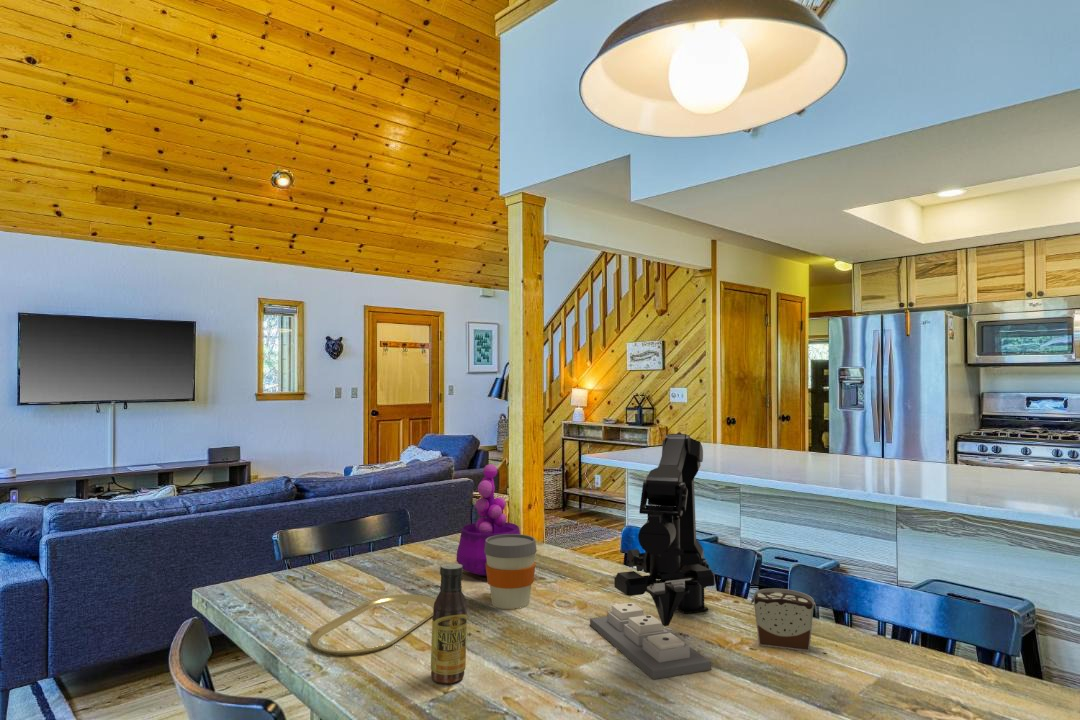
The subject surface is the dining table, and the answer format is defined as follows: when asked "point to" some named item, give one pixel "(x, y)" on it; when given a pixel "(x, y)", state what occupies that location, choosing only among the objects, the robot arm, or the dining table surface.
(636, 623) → the tile three dots
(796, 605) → the food container
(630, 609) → the tile two dots
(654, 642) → the tile one dot
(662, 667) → the button panel
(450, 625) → the sauce bottle
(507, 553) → the reusable coffee cup
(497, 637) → the dining table surface
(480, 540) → the decorative plant
